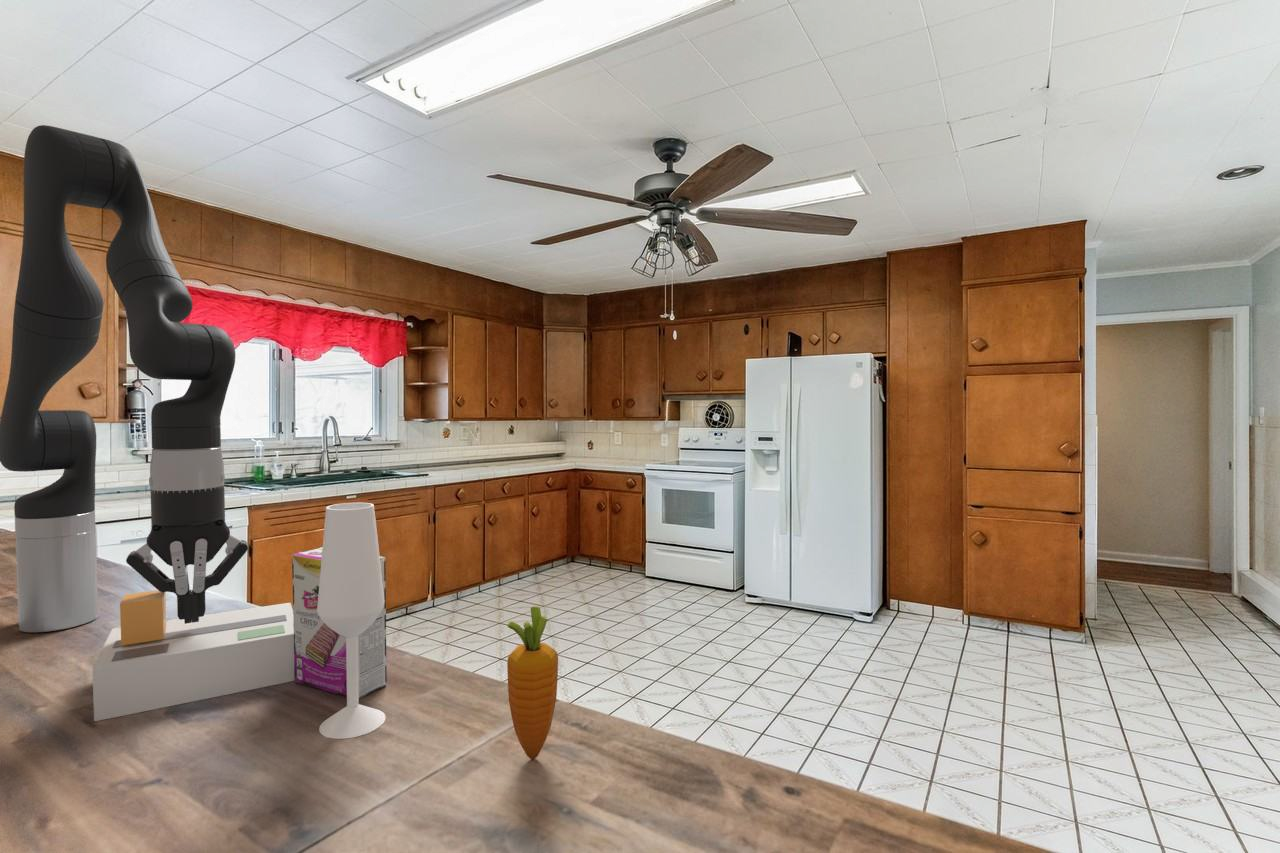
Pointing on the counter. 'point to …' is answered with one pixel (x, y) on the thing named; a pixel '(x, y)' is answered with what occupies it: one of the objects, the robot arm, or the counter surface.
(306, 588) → the candy bar box
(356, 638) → the champagne flute
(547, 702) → the carrot
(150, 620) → the block
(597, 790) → the counter surface
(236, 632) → the switch box
